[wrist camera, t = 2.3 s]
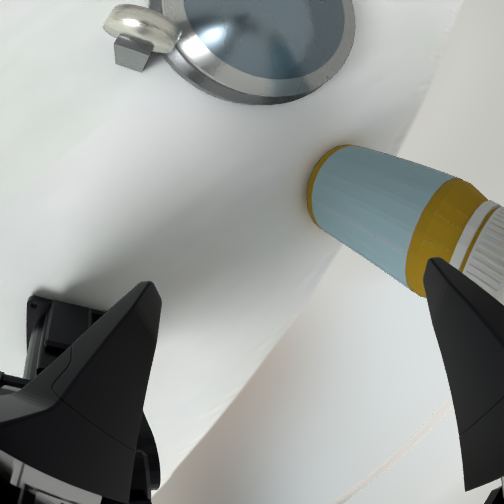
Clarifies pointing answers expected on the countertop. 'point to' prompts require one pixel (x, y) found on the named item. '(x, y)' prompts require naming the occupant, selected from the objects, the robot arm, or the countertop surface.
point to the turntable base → (167, 50)
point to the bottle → (407, 217)
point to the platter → (264, 42)
